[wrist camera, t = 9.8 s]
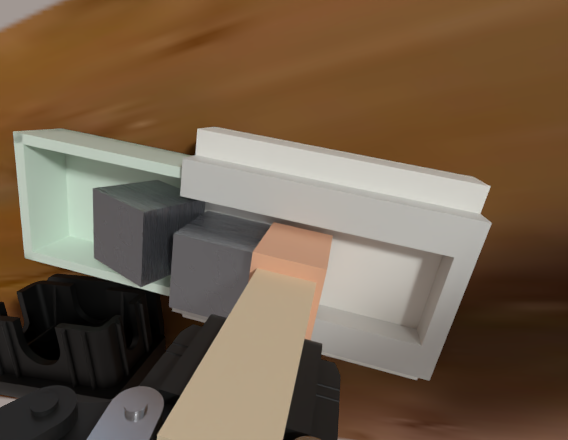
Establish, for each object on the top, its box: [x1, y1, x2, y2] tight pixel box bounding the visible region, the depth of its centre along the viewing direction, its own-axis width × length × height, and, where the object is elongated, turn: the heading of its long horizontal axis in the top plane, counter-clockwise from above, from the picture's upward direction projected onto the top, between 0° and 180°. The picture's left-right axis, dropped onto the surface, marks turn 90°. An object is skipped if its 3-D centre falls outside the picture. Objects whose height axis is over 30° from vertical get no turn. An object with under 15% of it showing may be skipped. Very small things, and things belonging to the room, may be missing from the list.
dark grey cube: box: [93, 180, 205, 287], centre depth 19 cm, size 4×4×4 cm
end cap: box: [0, 274, 165, 403], centre depth 24 cm, size 10×7×7 cm
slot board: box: [172, 127, 492, 381], centre depth 20 cm, size 15×12×4 cm
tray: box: [13, 129, 192, 296], centre depth 22 cm, size 10×8×4 cm
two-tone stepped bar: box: [157, 222, 333, 440], centre depth 13 cm, size 3×4×12 cm
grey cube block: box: [169, 211, 271, 318], centre depth 18 cm, size 4×4×4 cm
